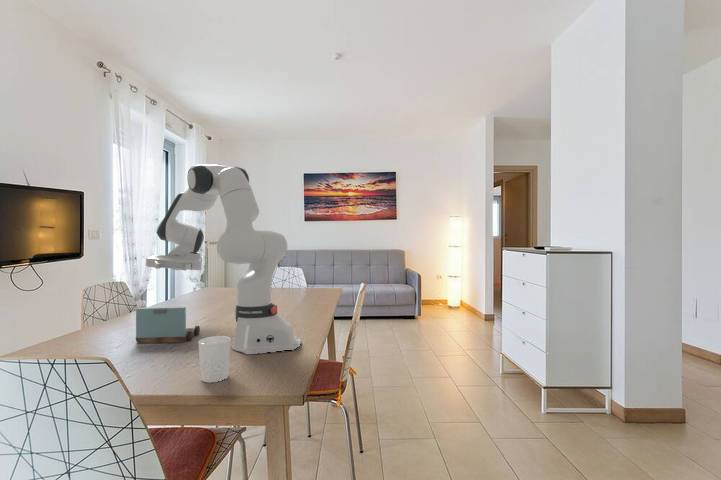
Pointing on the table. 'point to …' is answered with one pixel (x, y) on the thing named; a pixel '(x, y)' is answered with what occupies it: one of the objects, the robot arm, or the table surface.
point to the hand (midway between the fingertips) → (170, 267)
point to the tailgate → (160, 322)
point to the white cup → (214, 358)
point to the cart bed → (189, 334)
